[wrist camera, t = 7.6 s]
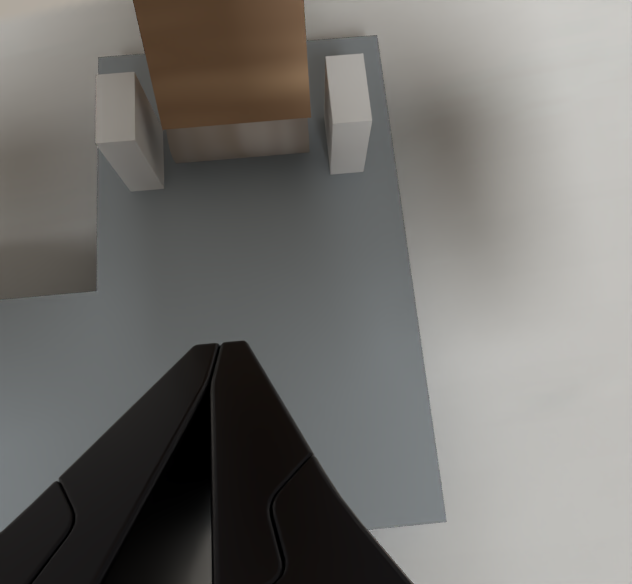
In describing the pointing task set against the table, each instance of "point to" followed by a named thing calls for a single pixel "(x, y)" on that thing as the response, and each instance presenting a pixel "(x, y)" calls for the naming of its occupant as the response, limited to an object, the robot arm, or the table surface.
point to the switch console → (238, 293)
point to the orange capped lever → (228, 76)
